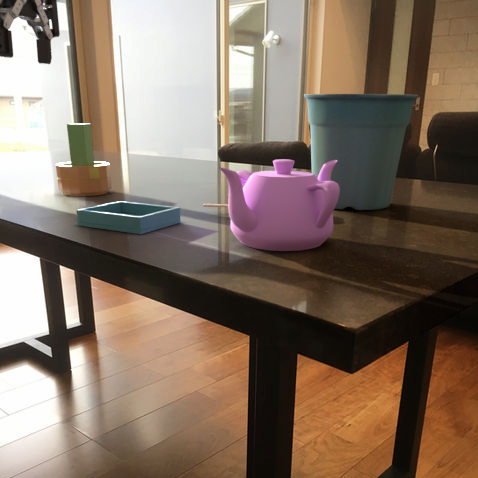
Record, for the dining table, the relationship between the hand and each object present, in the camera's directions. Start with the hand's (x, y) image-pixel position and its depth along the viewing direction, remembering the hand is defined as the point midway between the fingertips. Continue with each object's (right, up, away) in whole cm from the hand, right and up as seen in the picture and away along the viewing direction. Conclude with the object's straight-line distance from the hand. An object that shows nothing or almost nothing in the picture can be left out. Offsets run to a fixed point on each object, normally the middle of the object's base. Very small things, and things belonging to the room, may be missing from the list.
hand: (26, 60), depth 84 cm
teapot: (+40, -33, -25) cm, 58 cm away
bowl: (+7, -20, +8) cm, 22 cm away
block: (+7, -19, +8) cm, 22 cm away
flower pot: (+52, -24, -2) cm, 58 cm away
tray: (+21, -30, -17) cm, 40 cm away
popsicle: (+37, -27, -9) cm, 46 cm away
